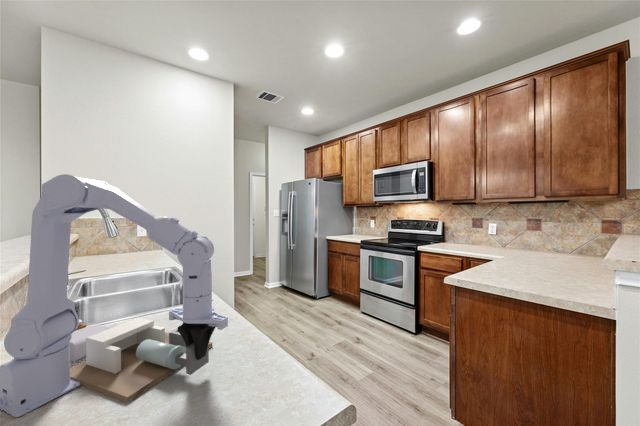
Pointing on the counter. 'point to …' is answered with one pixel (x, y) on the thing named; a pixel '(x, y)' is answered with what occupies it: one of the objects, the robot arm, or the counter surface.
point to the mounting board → (122, 375)
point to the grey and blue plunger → (171, 355)
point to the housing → (124, 342)
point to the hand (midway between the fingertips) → (197, 356)
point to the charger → (84, 340)
